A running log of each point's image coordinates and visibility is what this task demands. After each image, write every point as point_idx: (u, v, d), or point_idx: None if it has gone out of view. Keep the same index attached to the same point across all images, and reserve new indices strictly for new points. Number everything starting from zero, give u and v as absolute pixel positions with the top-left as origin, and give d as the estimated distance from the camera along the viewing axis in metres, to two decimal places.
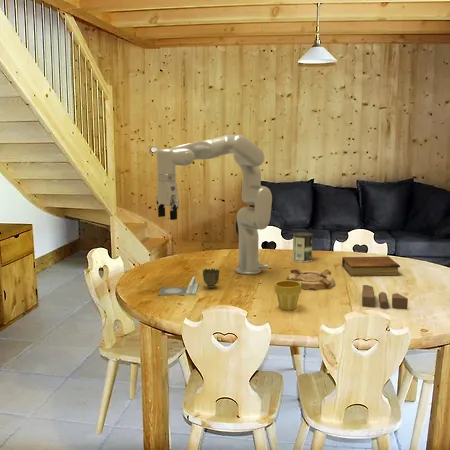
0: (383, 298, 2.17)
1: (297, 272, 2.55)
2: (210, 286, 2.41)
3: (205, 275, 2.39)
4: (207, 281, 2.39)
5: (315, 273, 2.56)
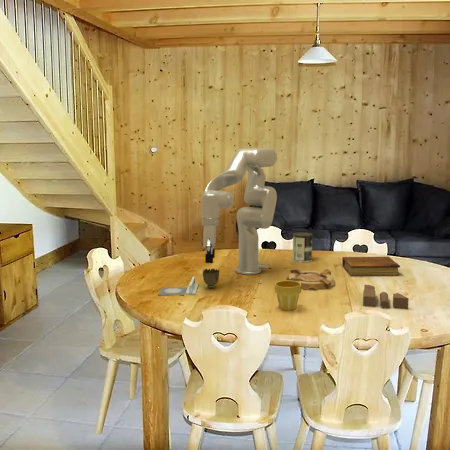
0: (384, 298, 2.18)
1: (297, 272, 2.55)
2: (210, 286, 2.41)
3: (205, 275, 2.39)
4: (207, 281, 2.39)
5: (315, 273, 2.56)
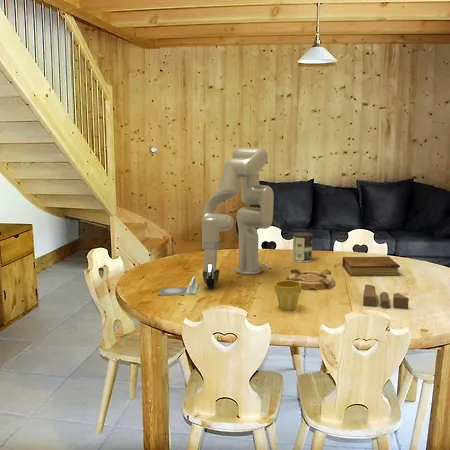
0: (384, 298, 2.18)
1: (297, 272, 2.55)
2: None
3: (205, 275, 2.39)
4: None
5: (315, 273, 2.56)
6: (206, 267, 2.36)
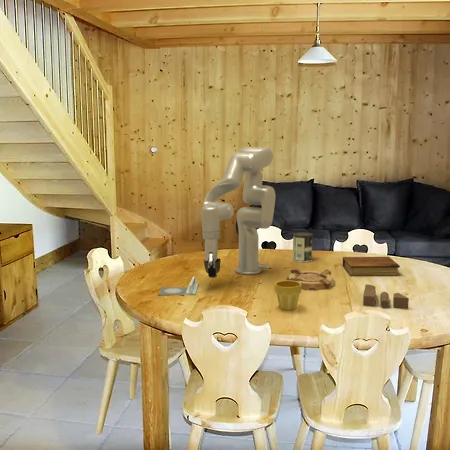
0: (384, 297, 2.18)
1: (297, 272, 2.55)
2: None
3: (206, 264, 2.39)
4: None
5: (315, 273, 2.56)
6: (207, 256, 2.36)
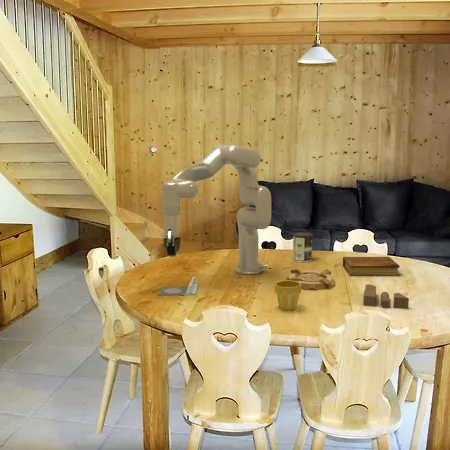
0: (384, 297, 2.18)
1: (297, 272, 2.55)
2: None
3: (165, 242, 2.31)
4: None
5: (315, 273, 2.56)
6: (166, 233, 2.28)
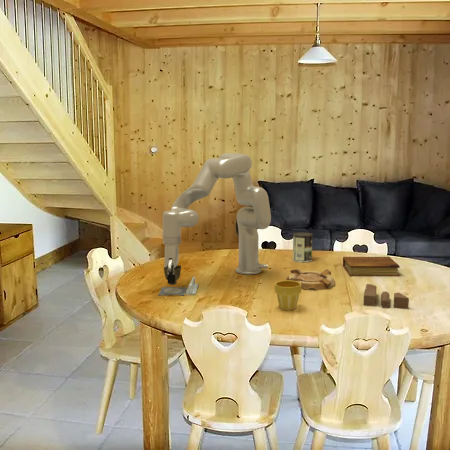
0: (384, 297, 2.18)
1: (297, 272, 2.55)
2: None
3: (166, 271, 2.33)
4: None
5: (315, 273, 2.56)
6: (166, 262, 2.30)
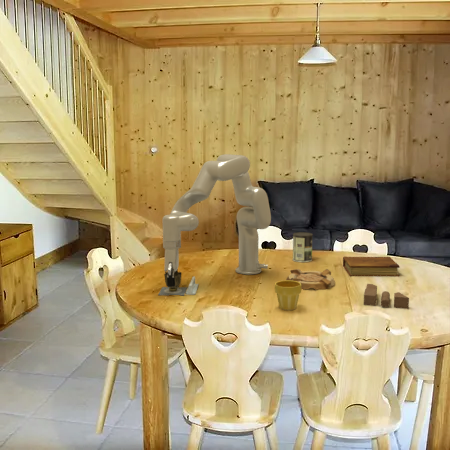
0: (385, 297, 2.18)
1: (297, 272, 2.55)
2: (172, 289, 2.36)
3: (166, 278, 2.34)
4: None
5: (315, 273, 2.56)
6: (167, 266, 2.31)
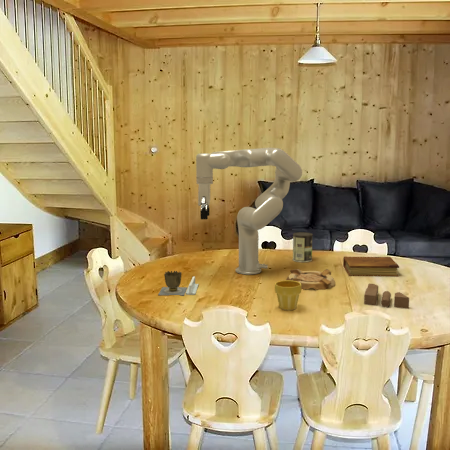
0: (385, 297, 2.19)
1: (297, 272, 2.55)
2: (172, 289, 2.36)
3: (166, 278, 2.34)
4: (168, 284, 2.34)
5: (315, 273, 2.56)
6: (200, 200, 2.49)
